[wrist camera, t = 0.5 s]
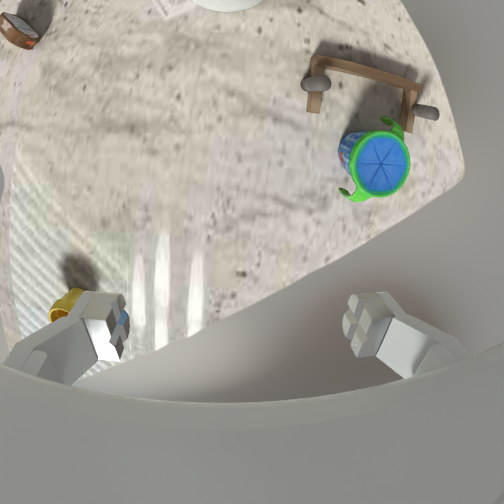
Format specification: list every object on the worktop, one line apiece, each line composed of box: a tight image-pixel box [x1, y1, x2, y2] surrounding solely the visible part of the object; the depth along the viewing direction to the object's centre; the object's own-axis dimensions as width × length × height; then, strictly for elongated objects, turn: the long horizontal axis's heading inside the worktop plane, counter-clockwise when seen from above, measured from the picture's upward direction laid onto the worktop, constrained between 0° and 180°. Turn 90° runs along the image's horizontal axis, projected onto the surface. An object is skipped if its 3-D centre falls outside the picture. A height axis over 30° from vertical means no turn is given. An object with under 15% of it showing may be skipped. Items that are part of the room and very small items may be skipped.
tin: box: [0, 12, 40, 50], centre depth 19 cm, size 15×3×8 cm, turn 40°
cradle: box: [300, 55, 439, 133], centre depth 35 cm, size 10×23×8 cm, turn 87°
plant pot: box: [49, 288, 84, 323], centre depth 53 cm, size 10×10×10 cm
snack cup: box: [338, 116, 410, 202], centre depth 40 cm, size 16×10×10 cm
